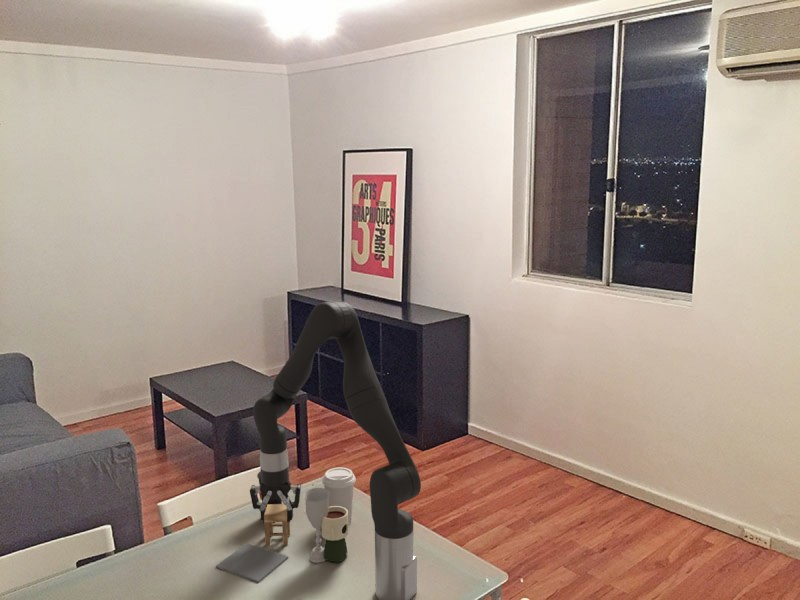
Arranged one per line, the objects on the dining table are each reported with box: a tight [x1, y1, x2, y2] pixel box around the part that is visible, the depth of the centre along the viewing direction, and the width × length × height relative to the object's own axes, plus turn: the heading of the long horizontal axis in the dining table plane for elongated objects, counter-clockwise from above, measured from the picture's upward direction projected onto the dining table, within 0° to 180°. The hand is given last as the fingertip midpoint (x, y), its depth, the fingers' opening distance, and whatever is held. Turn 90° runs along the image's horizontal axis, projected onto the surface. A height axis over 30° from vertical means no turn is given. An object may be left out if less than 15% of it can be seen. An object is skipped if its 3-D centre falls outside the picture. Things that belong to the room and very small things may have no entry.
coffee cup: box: [321, 467, 357, 525], centre depth 198 cm, size 10×10×15 cm
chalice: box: [303, 487, 330, 563], centre depth 180 cm, size 7×7×18 cm
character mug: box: [320, 506, 350, 562], centre depth 180 cm, size 11×7×13 cm, turn 177°
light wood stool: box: [263, 503, 291, 547], centre depth 190 cm, size 6×6×9 cm
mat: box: [215, 542, 289, 584], centre depth 180 cm, size 14×12×1 cm
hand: (277, 520), depth 189 cm, fingers closed on light wood stool, 6 cm apart
